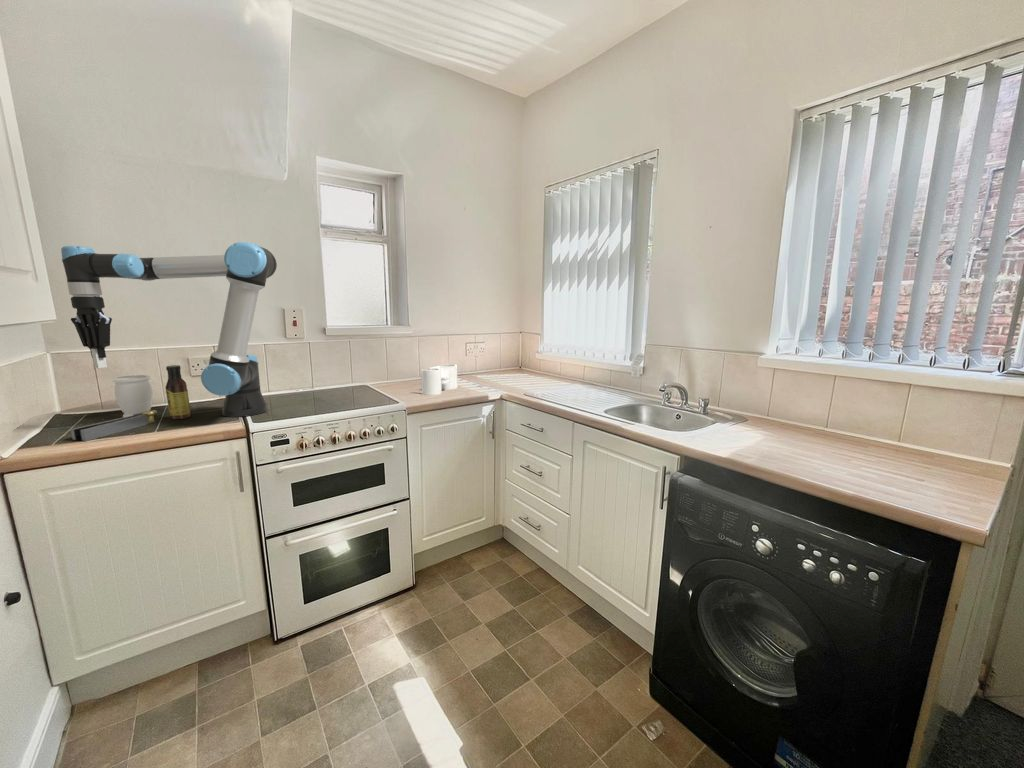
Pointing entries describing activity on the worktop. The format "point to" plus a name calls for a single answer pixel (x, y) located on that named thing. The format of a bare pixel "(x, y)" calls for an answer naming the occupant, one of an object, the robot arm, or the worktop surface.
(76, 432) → the tongs moving arm
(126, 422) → the arm
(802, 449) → the worktop surface
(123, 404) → the jar
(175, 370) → the sauce bottle
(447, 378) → the white paper rolls
